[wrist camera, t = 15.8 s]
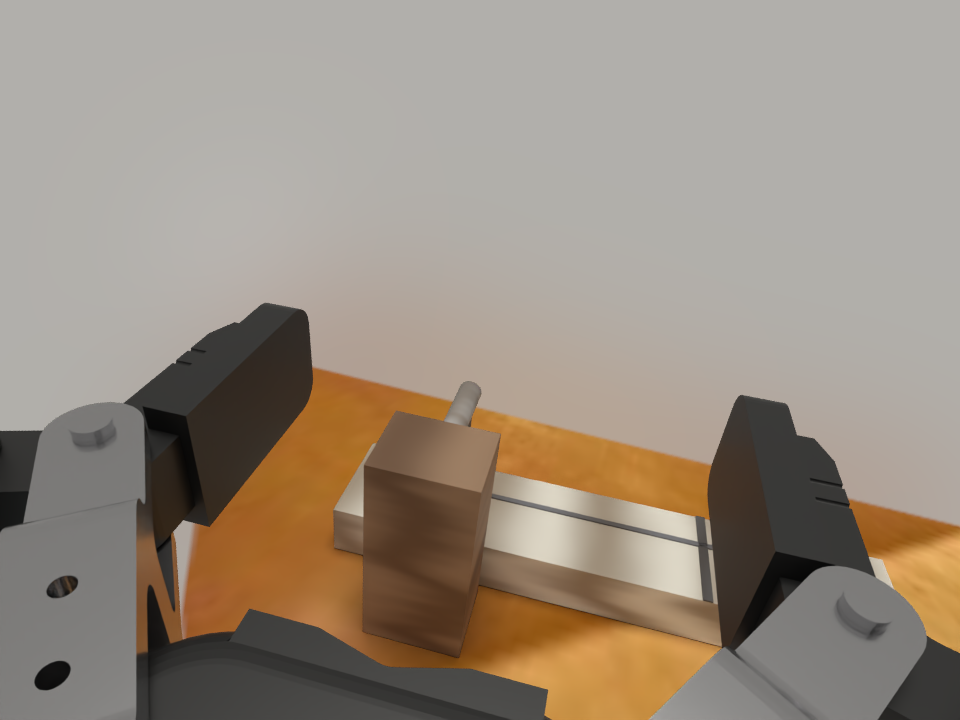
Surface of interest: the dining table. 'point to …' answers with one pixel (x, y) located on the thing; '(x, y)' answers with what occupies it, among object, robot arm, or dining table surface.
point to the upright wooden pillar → (427, 525)
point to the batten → (588, 554)
